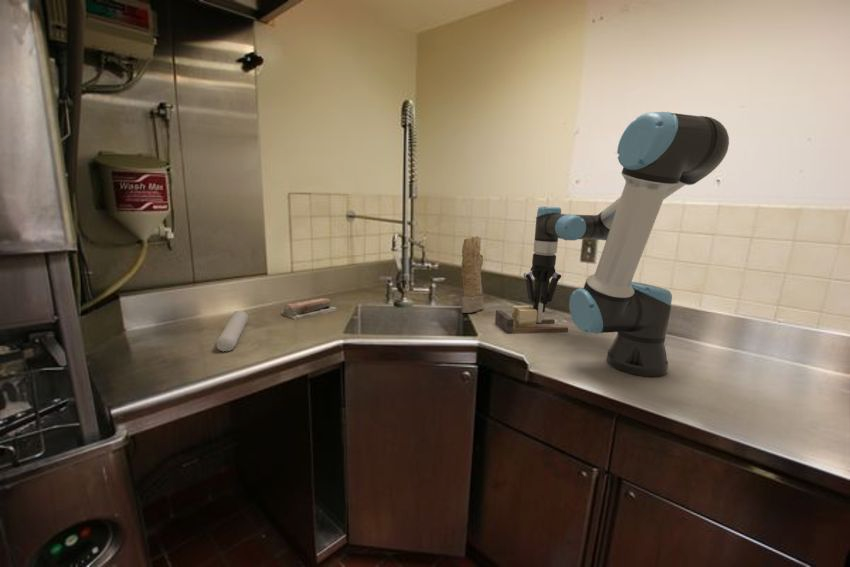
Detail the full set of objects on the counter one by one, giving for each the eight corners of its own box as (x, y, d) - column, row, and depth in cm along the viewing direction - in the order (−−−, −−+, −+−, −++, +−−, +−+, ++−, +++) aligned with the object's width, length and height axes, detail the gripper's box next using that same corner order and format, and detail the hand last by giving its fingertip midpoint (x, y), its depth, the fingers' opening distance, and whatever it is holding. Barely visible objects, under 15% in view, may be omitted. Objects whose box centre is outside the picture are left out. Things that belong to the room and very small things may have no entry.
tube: (237, 339, 109) (250, 312, 132) (216, 334, 107) (233, 308, 130) (232, 357, 109) (245, 327, 133) (211, 352, 108) (229, 323, 131)
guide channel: (568, 335, 134) (570, 318, 133) (507, 337, 130) (508, 320, 129) (550, 324, 146) (552, 308, 145) (494, 326, 141) (495, 309, 140)
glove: (485, 315, 154) (491, 238, 148) (458, 313, 155) (463, 237, 148) (482, 306, 168) (487, 235, 161) (457, 304, 168) (461, 234, 162)
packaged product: (294, 308, 138) (279, 302, 145) (295, 321, 139) (280, 315, 146) (337, 299, 152) (321, 294, 158) (337, 311, 153) (322, 306, 159)
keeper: (535, 330, 135) (537, 310, 133) (518, 331, 133) (520, 310, 132) (526, 324, 141) (528, 305, 139) (511, 325, 140) (512, 305, 138)
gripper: (557, 252, 138) (549, 317, 143) (521, 251, 135) (515, 318, 140) (568, 255, 130) (560, 324, 135) (531, 254, 128) (524, 324, 133)
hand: (537, 320), depth 138 cm, fingers closed
